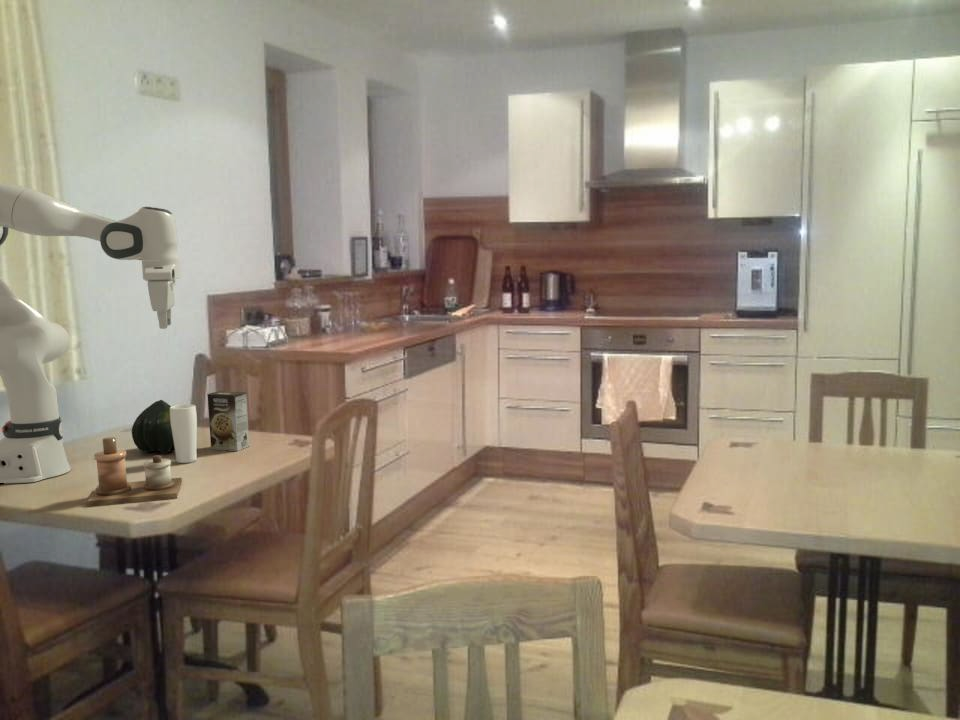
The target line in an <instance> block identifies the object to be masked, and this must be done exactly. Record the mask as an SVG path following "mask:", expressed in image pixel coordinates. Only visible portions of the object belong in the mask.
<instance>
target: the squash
mask: <svg viewBox="0 0 960 720" xmlns="http://www.w3.org/2000/svg"><path fill="white" fill-rule="evenodd" d="M170 407H172V405H170V404H169V403H168V402H166V401H165V400H163V399H160V400H157V401H155V402H153V403H151V404H150V405H149V406H147V407H146V408H145V409H144V410H143V411H141V413H140V414H139V415H138V416H137V417H136V419H135V420H134V422H133V424H132V428H131V436H132V441H133V443H134V445H135V446H136V447H137V449H139V450H140V451H141V452H143V453H152V452H154V451H158V452H160V453H161V454H164V455H165V454H168V453H169V452H175V447H174V441H173V435H172V430H171V423H170Z"/></svg>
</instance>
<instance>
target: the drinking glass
mask: <svg viewBox="0 0 960 720" xmlns="http://www.w3.org/2000/svg"><path fill="white" fill-rule="evenodd" d="M170 423H171V430H172V435H173V441H174V447H175V451H174V452H175V460H176V462H177V463H178V464H190V463H193V462H196V461H197V459H198V453H197V444H198V443H197V442H198V440H197V439H198V438H197V437H198V435H197V434H198V433H197V432H198V415H197V406H196V404H189V403H187V404H176V405H173V406H172V405H171V407H170Z"/></svg>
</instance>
